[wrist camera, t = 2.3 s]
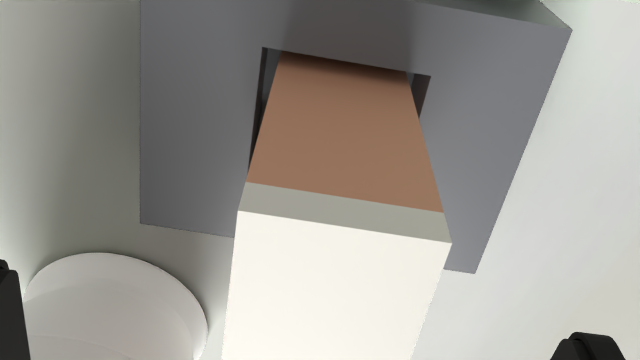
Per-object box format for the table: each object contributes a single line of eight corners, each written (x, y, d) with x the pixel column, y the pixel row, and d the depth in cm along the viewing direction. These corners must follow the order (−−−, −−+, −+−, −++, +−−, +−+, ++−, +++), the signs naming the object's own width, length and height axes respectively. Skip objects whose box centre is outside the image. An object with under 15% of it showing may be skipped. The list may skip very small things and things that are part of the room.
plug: (402, 60, 19) (452, 243, 11) (376, 162, 21) (400, 385, 13) (284, 39, 19) (237, 210, 10) (270, 145, 21) (221, 359, 12)
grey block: (536, -2, 19) (572, 29, 16) (457, 217, 24) (474, 274, 21) (173, -67, 18) (140, -48, 15) (166, 172, 23) (139, 223, 20)
